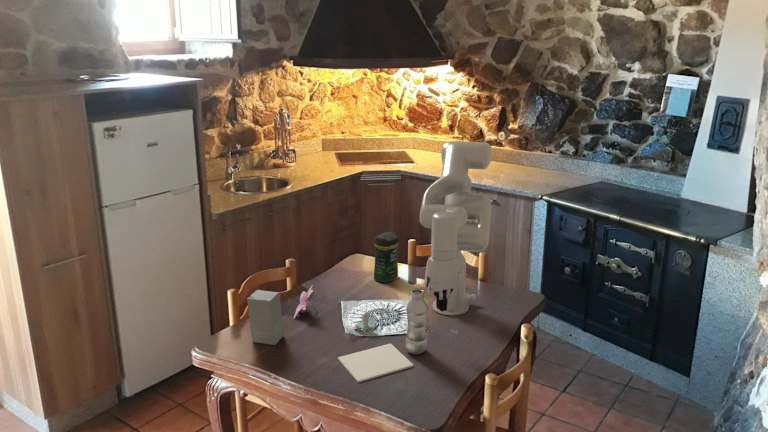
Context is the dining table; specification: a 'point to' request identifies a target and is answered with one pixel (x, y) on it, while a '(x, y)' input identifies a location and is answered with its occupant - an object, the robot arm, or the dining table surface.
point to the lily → (304, 301)
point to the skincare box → (265, 317)
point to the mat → (374, 362)
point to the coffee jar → (386, 257)
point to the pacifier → (365, 322)
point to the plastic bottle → (416, 323)
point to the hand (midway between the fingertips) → (441, 309)
